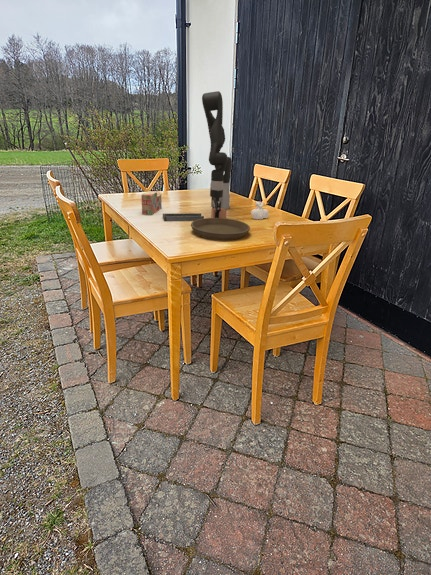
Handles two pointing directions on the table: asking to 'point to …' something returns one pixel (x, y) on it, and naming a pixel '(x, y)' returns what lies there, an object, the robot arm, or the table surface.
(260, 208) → the bust
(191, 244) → the table surface
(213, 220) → the plant saucer
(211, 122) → the robot arm
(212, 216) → the block
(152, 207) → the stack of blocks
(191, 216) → the rectangular frame
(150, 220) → the table surface
